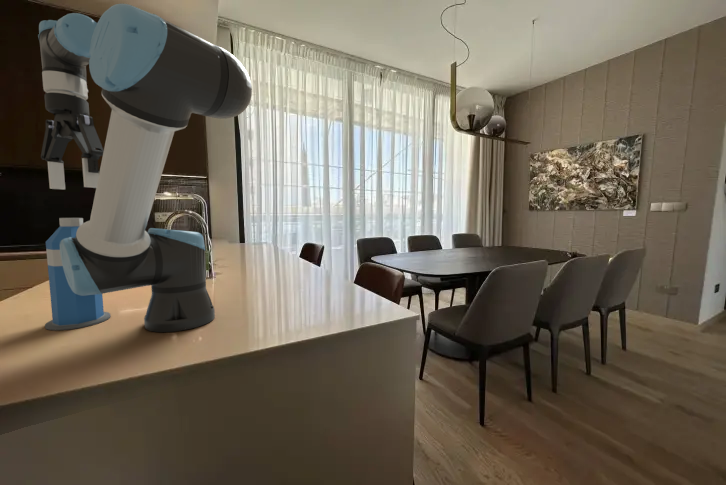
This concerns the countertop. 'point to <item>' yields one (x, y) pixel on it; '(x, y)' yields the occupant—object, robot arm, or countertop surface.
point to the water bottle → (63, 299)
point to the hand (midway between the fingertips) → (74, 188)
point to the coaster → (55, 327)
